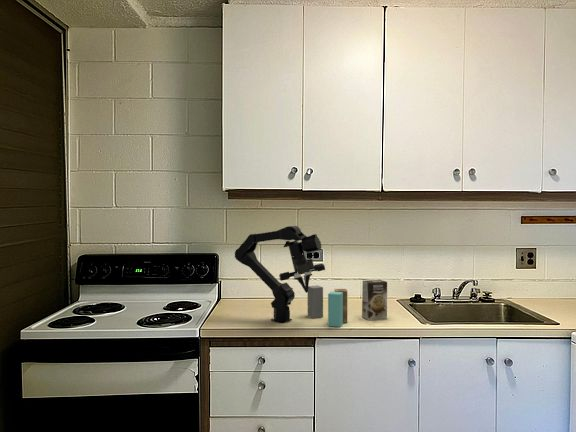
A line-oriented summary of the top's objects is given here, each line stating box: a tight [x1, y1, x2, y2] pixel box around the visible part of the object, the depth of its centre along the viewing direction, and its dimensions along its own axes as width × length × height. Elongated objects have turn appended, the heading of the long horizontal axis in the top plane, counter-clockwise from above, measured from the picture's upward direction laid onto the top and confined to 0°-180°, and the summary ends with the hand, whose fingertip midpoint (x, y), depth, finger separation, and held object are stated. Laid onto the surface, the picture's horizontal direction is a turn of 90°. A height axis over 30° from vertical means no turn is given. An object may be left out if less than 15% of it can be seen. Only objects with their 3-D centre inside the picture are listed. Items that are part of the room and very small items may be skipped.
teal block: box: [327, 291, 344, 328], centre depth 180 cm, size 5×5×13 cm
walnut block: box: [334, 288, 348, 323], centre depth 186 cm, size 5×5×13 cm
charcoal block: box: [307, 284, 324, 319], centre depth 194 cm, size 5×5×13 cm
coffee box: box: [361, 279, 388, 321], centre depth 191 cm, size 9×6×16 cm
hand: (306, 292), depth 182 cm, fingers closed
